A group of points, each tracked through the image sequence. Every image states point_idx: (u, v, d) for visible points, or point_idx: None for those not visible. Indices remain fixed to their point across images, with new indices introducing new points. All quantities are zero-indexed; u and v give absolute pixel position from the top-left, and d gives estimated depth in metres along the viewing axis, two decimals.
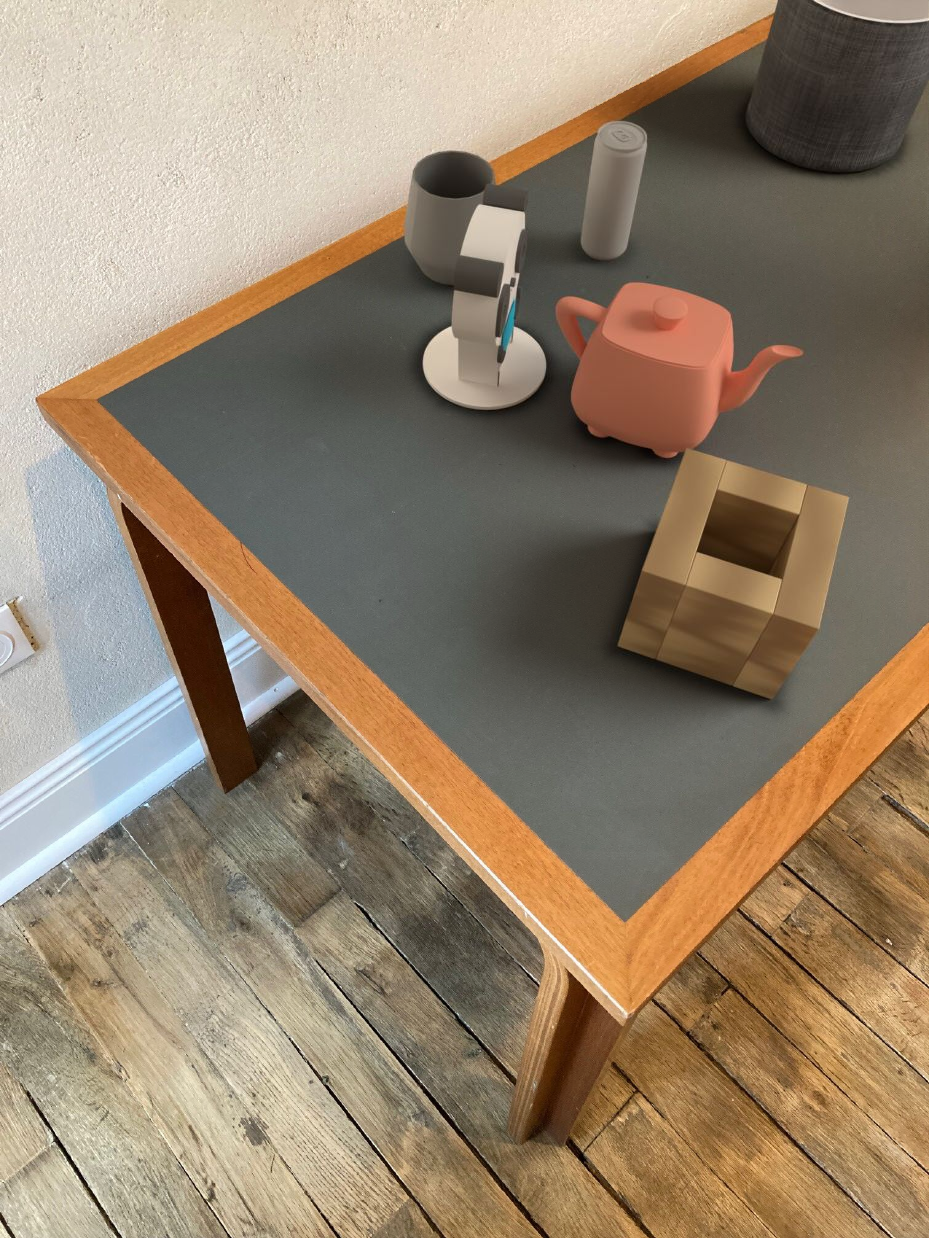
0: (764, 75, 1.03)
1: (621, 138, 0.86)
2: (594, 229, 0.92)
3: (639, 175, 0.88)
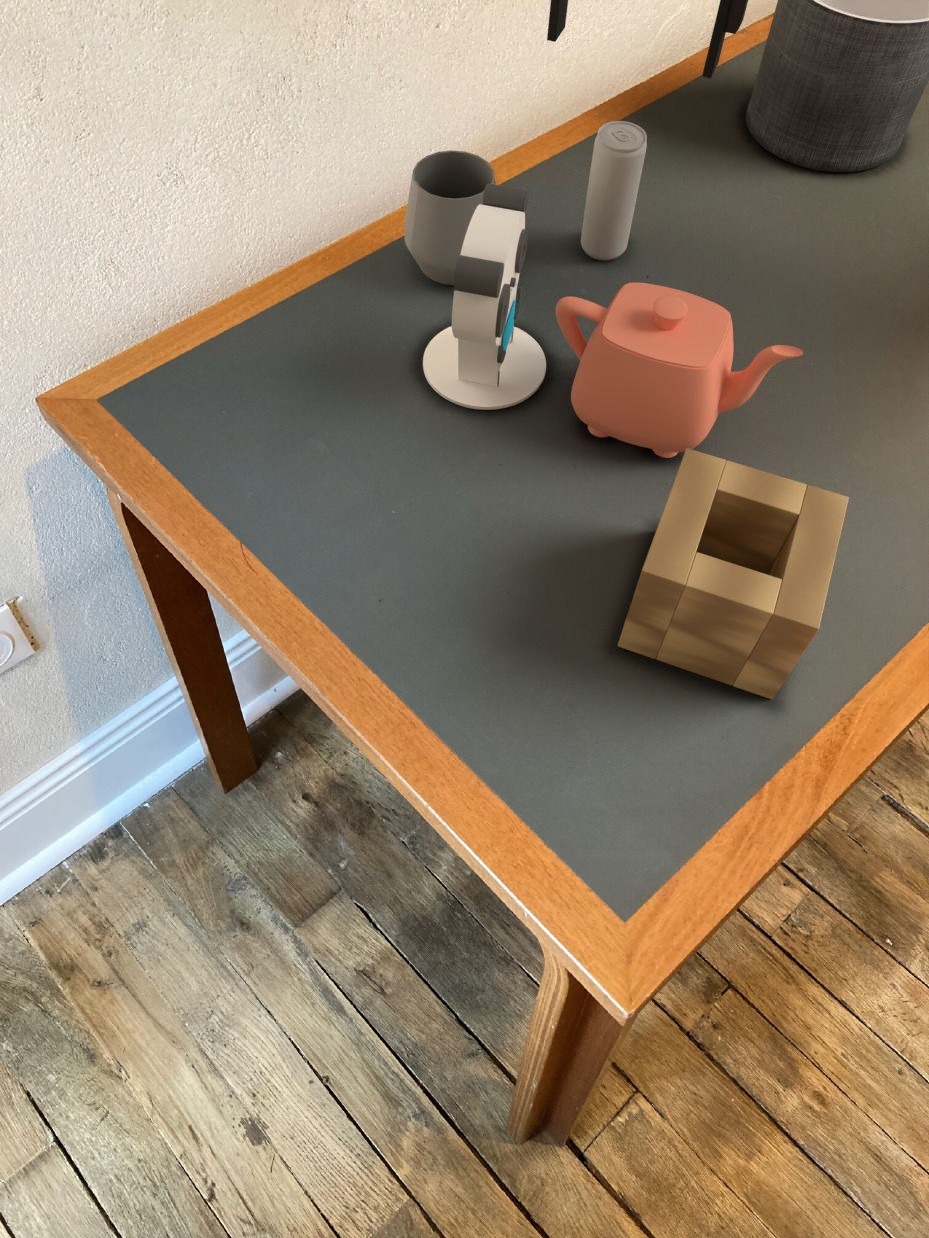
0: (764, 75, 1.03)
1: (621, 138, 0.86)
2: (594, 229, 0.92)
3: (638, 175, 0.88)
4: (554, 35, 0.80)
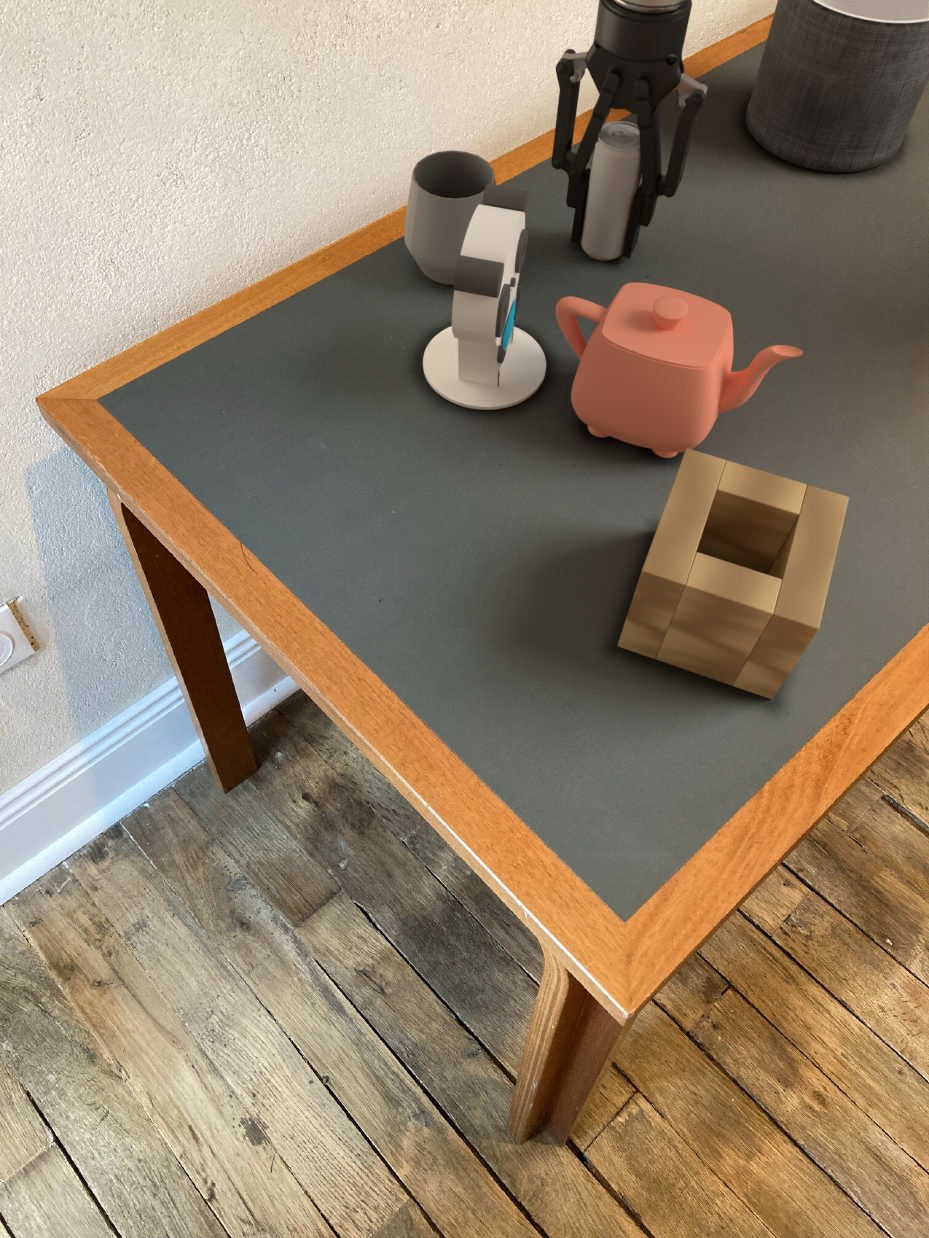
0: (764, 75, 1.03)
1: (621, 138, 0.86)
2: (594, 229, 0.92)
3: (639, 175, 0.88)
4: (576, 239, 0.95)
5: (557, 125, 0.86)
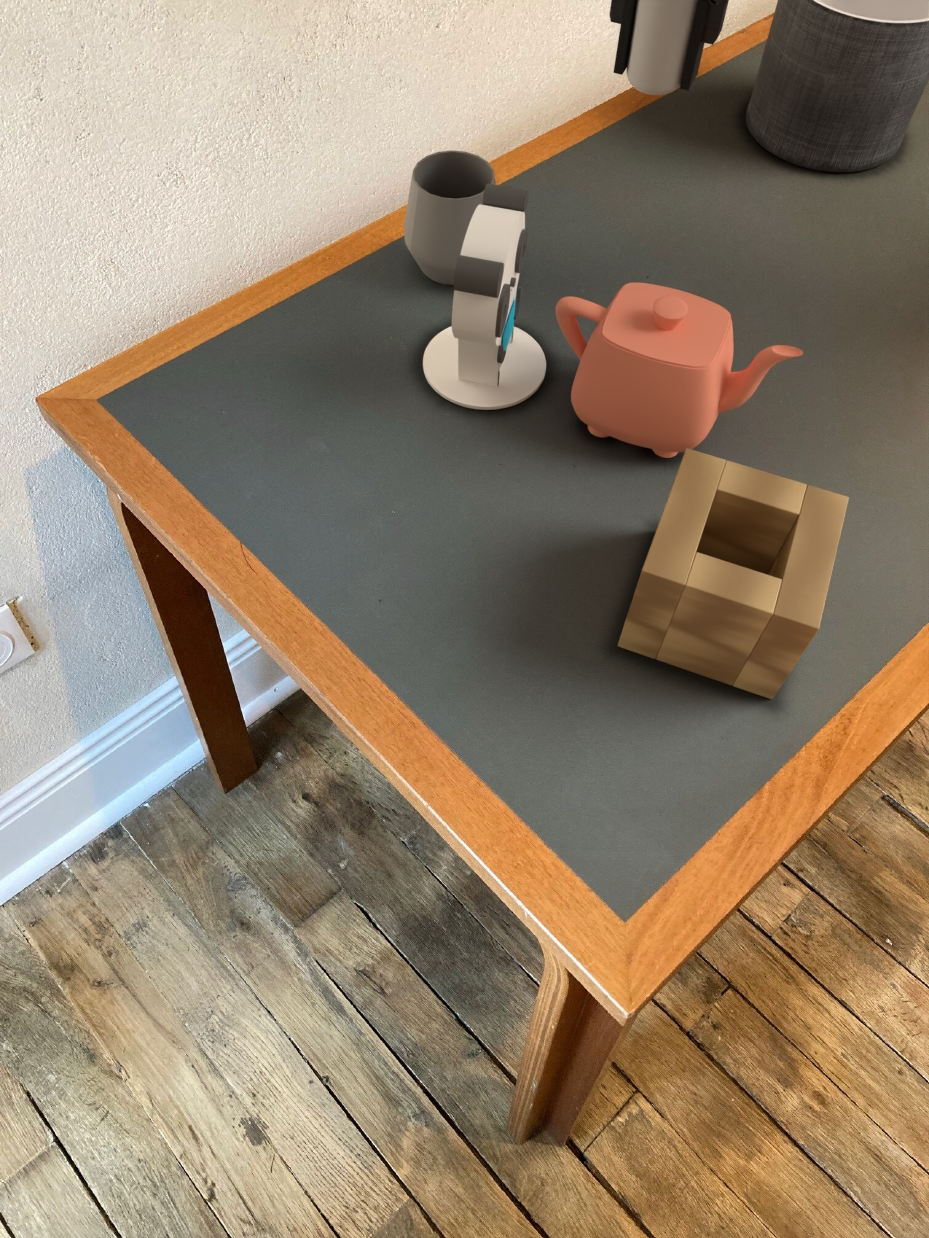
0: (764, 75, 1.03)
1: None
2: (645, 48, 0.72)
3: None
4: (621, 68, 0.75)
5: None
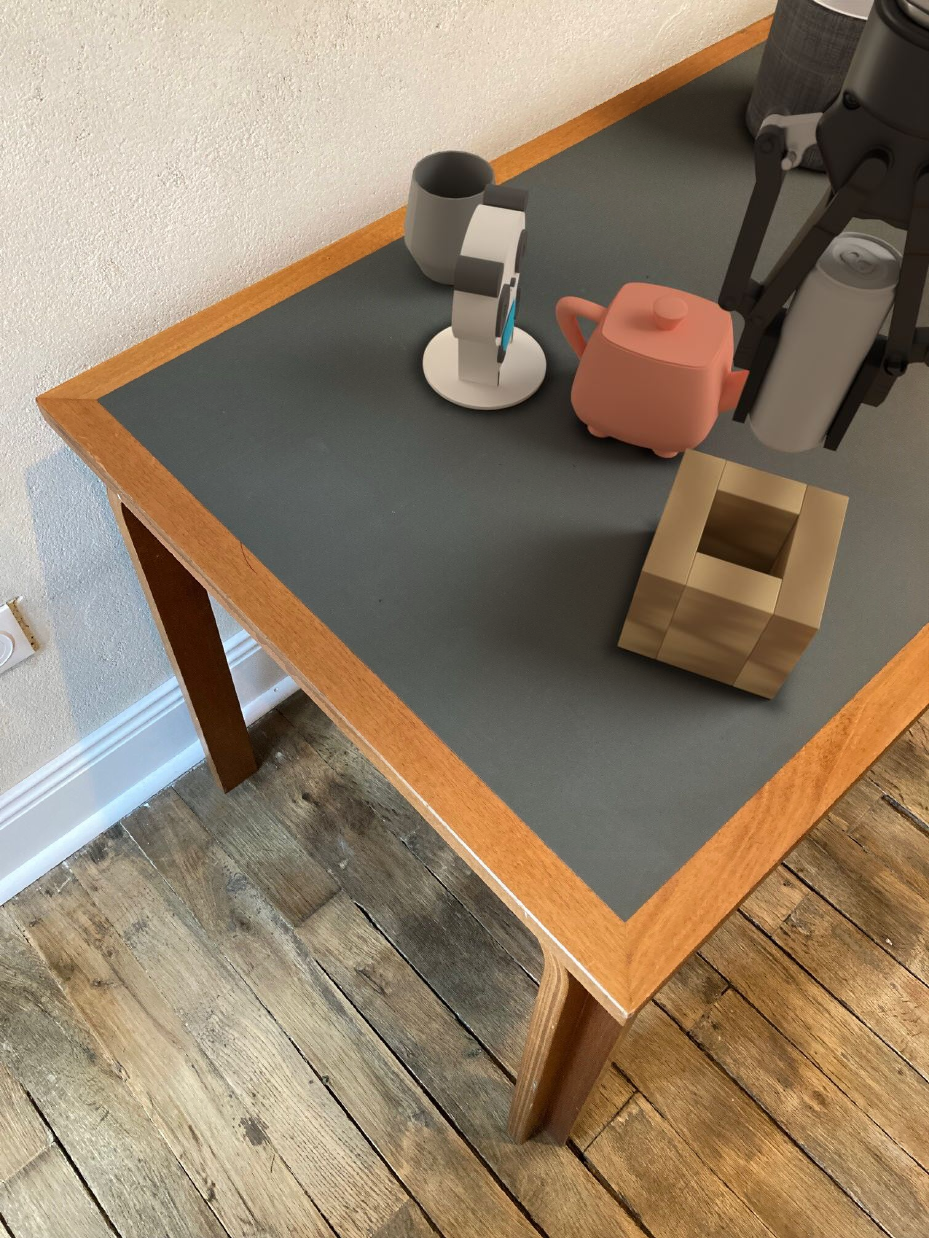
0: (764, 75, 1.03)
1: (859, 266, 0.47)
2: (784, 408, 0.53)
3: (880, 328, 0.49)
4: (744, 416, 0.56)
5: (740, 241, 0.47)
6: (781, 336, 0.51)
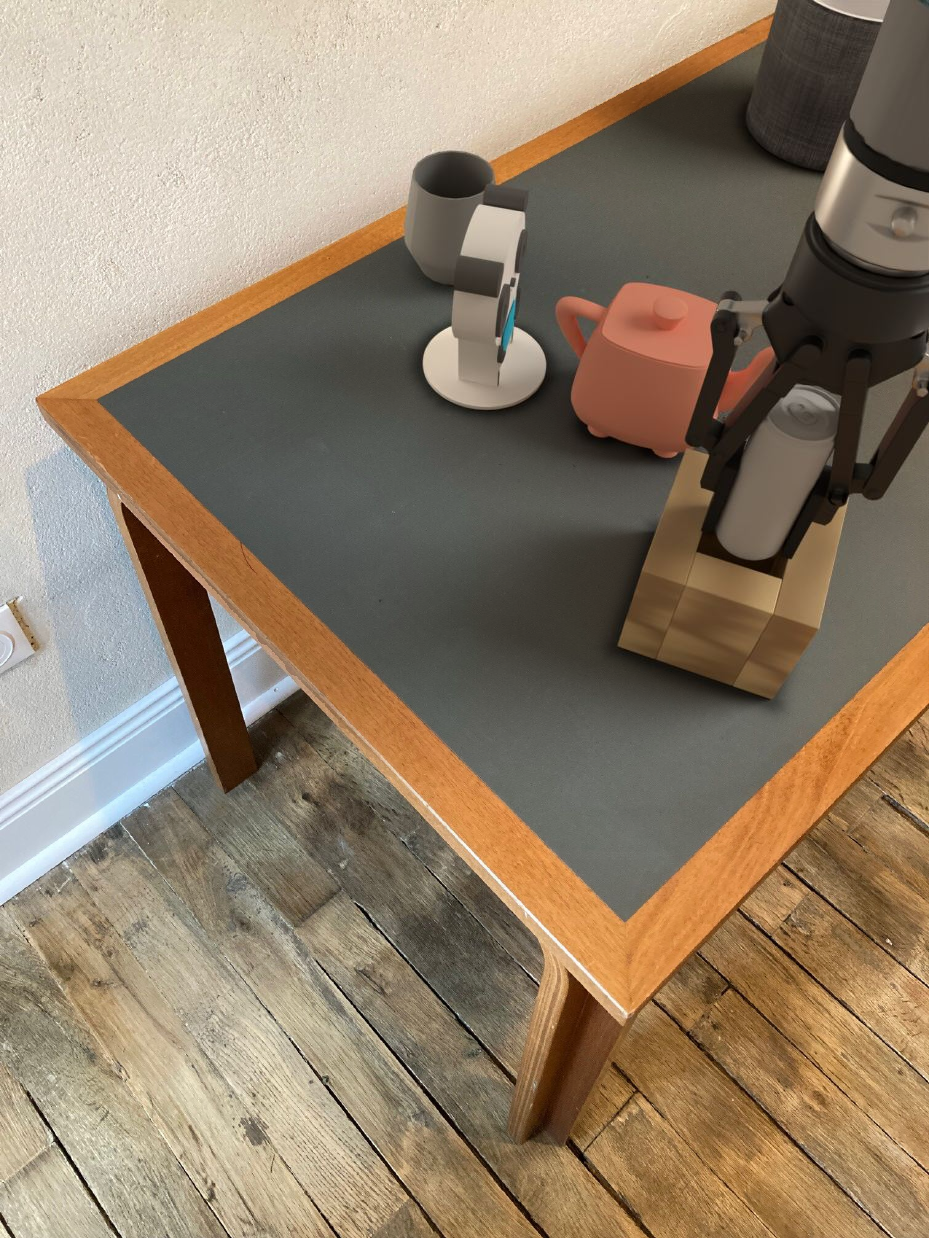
0: (764, 75, 1.03)
1: (803, 418, 0.55)
2: (744, 526, 0.61)
3: (824, 465, 0.57)
4: (711, 528, 0.64)
5: (702, 395, 0.55)
6: (740, 468, 0.59)
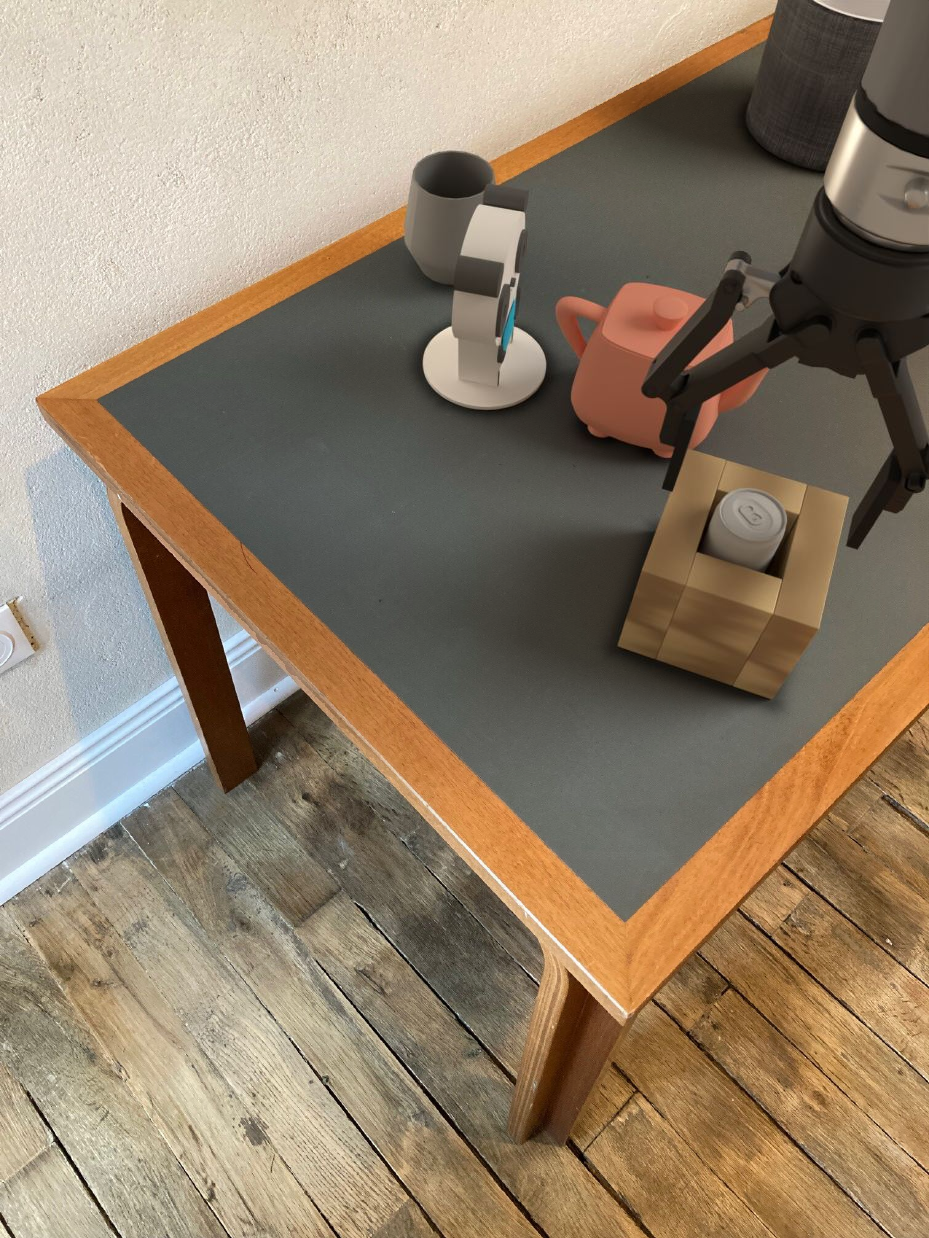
0: (764, 75, 1.03)
1: (751, 519, 0.63)
2: None
3: (771, 558, 0.65)
4: (672, 485, 0.62)
5: (678, 349, 0.53)
6: None
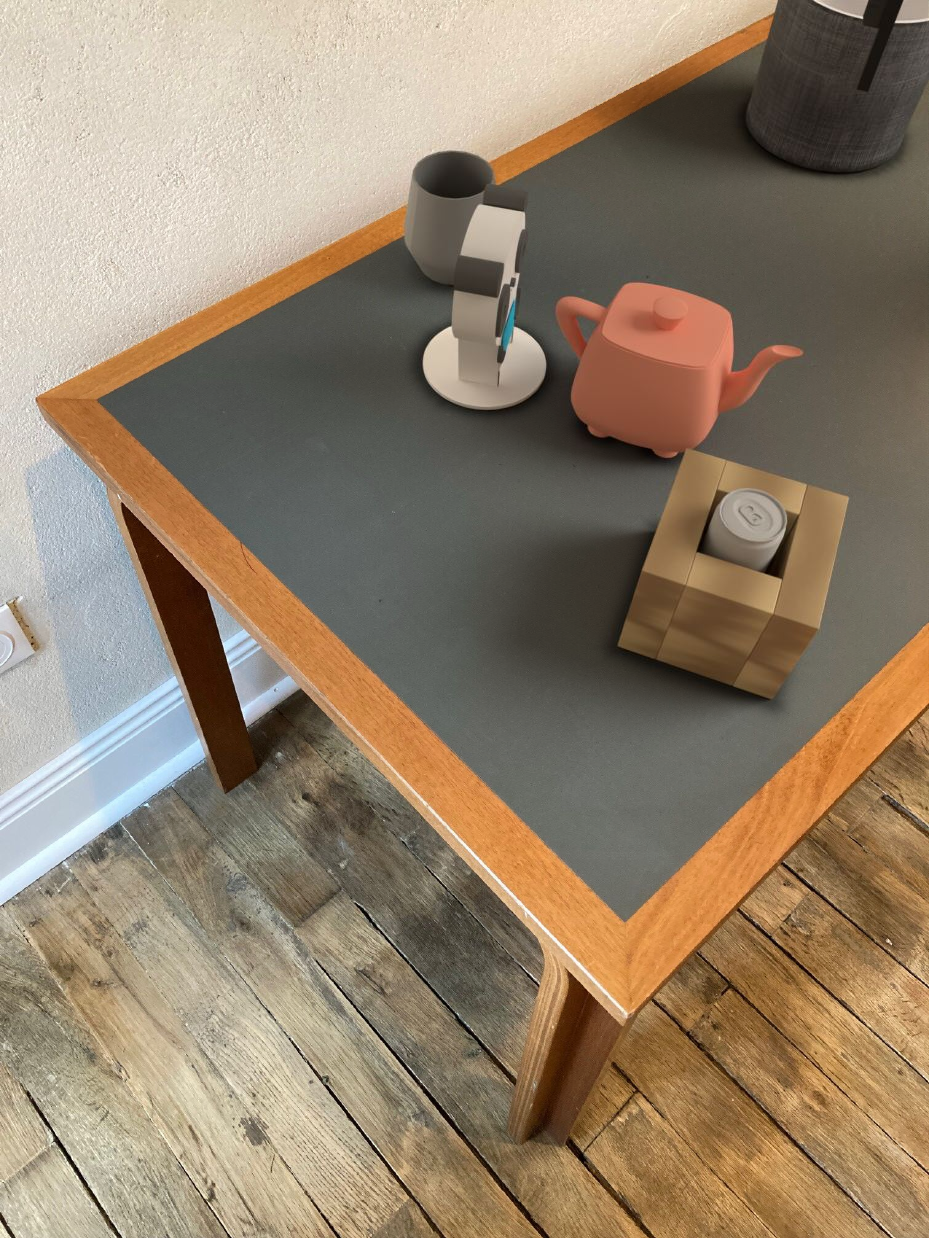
0: (764, 75, 1.03)
1: (751, 519, 0.63)
2: None
3: (771, 559, 0.65)
4: (868, 83, 0.60)
5: None
6: None
